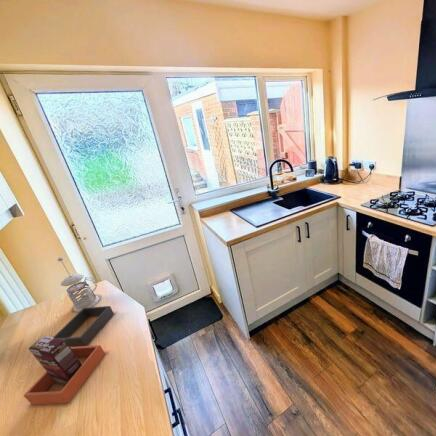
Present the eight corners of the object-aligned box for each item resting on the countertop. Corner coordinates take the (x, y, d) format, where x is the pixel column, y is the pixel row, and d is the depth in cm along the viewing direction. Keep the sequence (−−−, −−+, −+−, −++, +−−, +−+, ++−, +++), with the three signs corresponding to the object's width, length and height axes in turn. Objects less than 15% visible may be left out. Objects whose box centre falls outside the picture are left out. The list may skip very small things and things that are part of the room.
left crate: (31, 404, 72) (23, 395, 71) (74, 355, 87) (68, 347, 85) (68, 402, 72) (61, 393, 70) (105, 353, 86) (100, 345, 84)
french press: (76, 301, 114) (48, 256, 104) (105, 291, 118) (81, 247, 108) (70, 315, 106) (39, 267, 95) (101, 304, 110) (76, 257, 100)
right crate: (56, 348, 90) (49, 340, 88) (88, 315, 104) (83, 307, 103) (86, 346, 90) (80, 338, 88) (114, 313, 104) (109, 305, 102)
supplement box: (54, 382, 78) (26, 348, 72) (69, 367, 82) (44, 334, 76) (74, 387, 76) (47, 352, 69) (88, 372, 80) (65, 338, 74)
